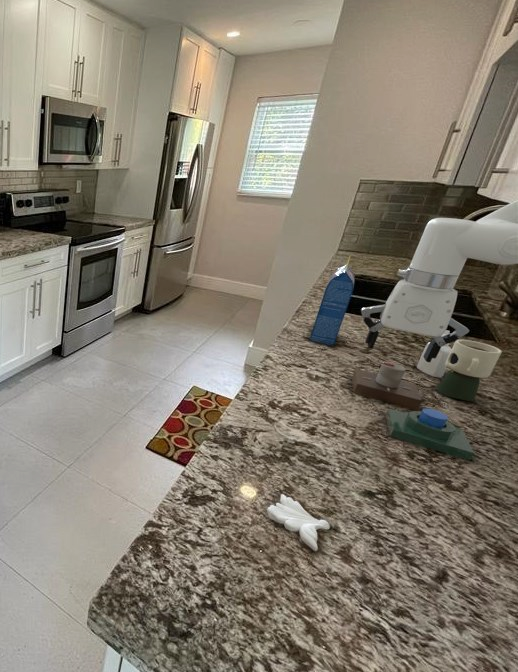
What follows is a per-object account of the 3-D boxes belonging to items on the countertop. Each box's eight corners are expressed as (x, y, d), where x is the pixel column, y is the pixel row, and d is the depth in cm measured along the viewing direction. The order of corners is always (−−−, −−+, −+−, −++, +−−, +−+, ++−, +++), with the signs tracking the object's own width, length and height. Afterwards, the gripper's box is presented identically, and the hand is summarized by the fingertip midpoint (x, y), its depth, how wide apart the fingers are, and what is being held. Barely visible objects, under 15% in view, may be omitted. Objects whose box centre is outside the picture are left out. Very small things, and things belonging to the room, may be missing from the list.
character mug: (432, 382, 101) (454, 334, 97) (473, 393, 97) (499, 343, 92) (432, 399, 94) (456, 347, 89) (477, 412, 89) (505, 359, 85)
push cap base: (457, 437, 80) (465, 420, 79) (469, 463, 74) (479, 444, 72) (384, 417, 86) (391, 400, 85) (389, 438, 80) (397, 421, 78)
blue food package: (307, 341, 122) (334, 259, 113) (312, 330, 131) (337, 253, 122) (333, 348, 118) (363, 264, 109) (336, 336, 127) (363, 257, 118)
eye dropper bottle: (419, 375, 105) (438, 332, 100) (414, 366, 109) (433, 325, 105) (442, 380, 102) (463, 336, 98) (437, 371, 107) (456, 329, 102)
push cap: (441, 421, 79) (446, 412, 78) (445, 430, 76) (450, 421, 76) (416, 415, 81) (420, 406, 80) (419, 423, 78) (424, 414, 78)
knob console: (410, 394, 95) (415, 382, 94) (416, 412, 88) (422, 399, 87) (351, 379, 101) (355, 368, 100) (352, 394, 94) (357, 383, 93)
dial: (396, 382, 94) (404, 364, 92) (399, 389, 91) (407, 370, 89) (374, 377, 96) (381, 359, 95) (376, 384, 93) (383, 365, 92)
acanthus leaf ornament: (314, 555, 55) (319, 545, 54) (260, 521, 60) (263, 511, 59) (332, 526, 60) (336, 516, 59) (280, 497, 64) (283, 487, 64)
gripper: (377, 274, 87) (349, 347, 93) (495, 292, 77) (455, 372, 84) (374, 268, 92) (348, 337, 99) (483, 284, 83) (446, 359, 89)
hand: (397, 353), depth 91 cm, fingers open, 9 cm apart
